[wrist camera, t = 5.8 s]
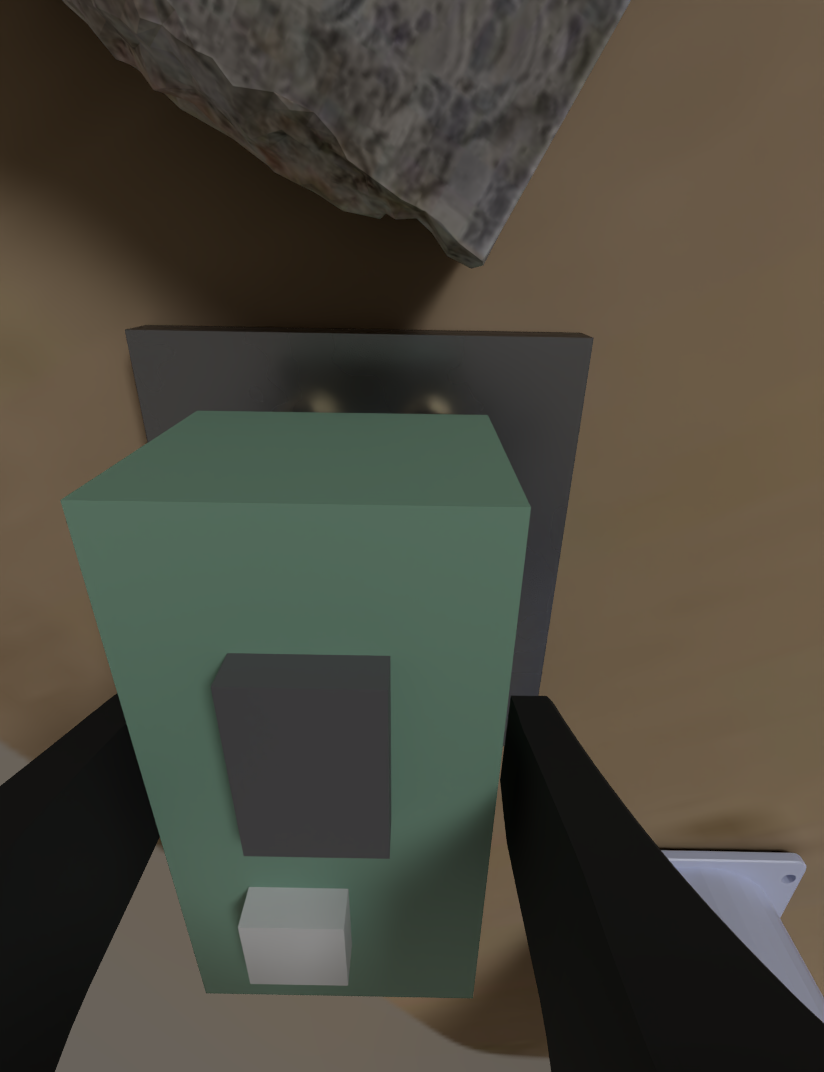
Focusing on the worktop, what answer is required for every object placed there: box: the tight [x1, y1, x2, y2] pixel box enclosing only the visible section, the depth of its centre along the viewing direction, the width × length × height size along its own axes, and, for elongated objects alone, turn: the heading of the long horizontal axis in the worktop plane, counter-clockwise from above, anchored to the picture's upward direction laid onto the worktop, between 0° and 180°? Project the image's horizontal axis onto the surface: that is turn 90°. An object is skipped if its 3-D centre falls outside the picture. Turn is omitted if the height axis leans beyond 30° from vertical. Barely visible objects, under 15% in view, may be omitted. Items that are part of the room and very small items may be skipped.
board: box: [61, 411, 531, 998], centre depth 10 cm, size 10×5×5 cm, turn 179°
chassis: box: [125, 325, 593, 746], centre depth 13 cm, size 12×10×4 cm
